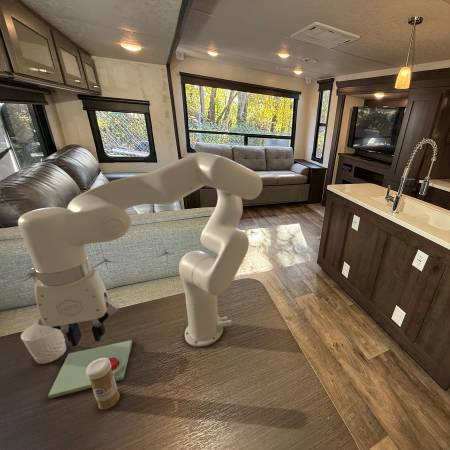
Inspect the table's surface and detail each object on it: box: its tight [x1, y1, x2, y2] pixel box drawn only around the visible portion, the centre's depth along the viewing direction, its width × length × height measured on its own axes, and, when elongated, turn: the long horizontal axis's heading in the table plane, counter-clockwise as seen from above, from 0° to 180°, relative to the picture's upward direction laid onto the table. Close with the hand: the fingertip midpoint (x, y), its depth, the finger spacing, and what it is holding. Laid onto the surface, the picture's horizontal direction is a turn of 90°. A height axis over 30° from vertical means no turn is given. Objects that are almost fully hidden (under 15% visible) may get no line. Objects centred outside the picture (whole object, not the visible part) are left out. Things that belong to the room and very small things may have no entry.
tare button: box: [109, 357, 118, 371], centre depth 69 cm, size 3×3×2 cm
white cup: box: [20, 322, 67, 365], centre depth 72 cm, size 8×8×10 cm
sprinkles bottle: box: [86, 358, 121, 411], centre depth 61 cm, size 5×5×14 cm
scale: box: [47, 339, 133, 399], centre depth 71 cm, size 16×13×3 cm
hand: (88, 338), depth 55 cm, fingers open, 3 cm apart
